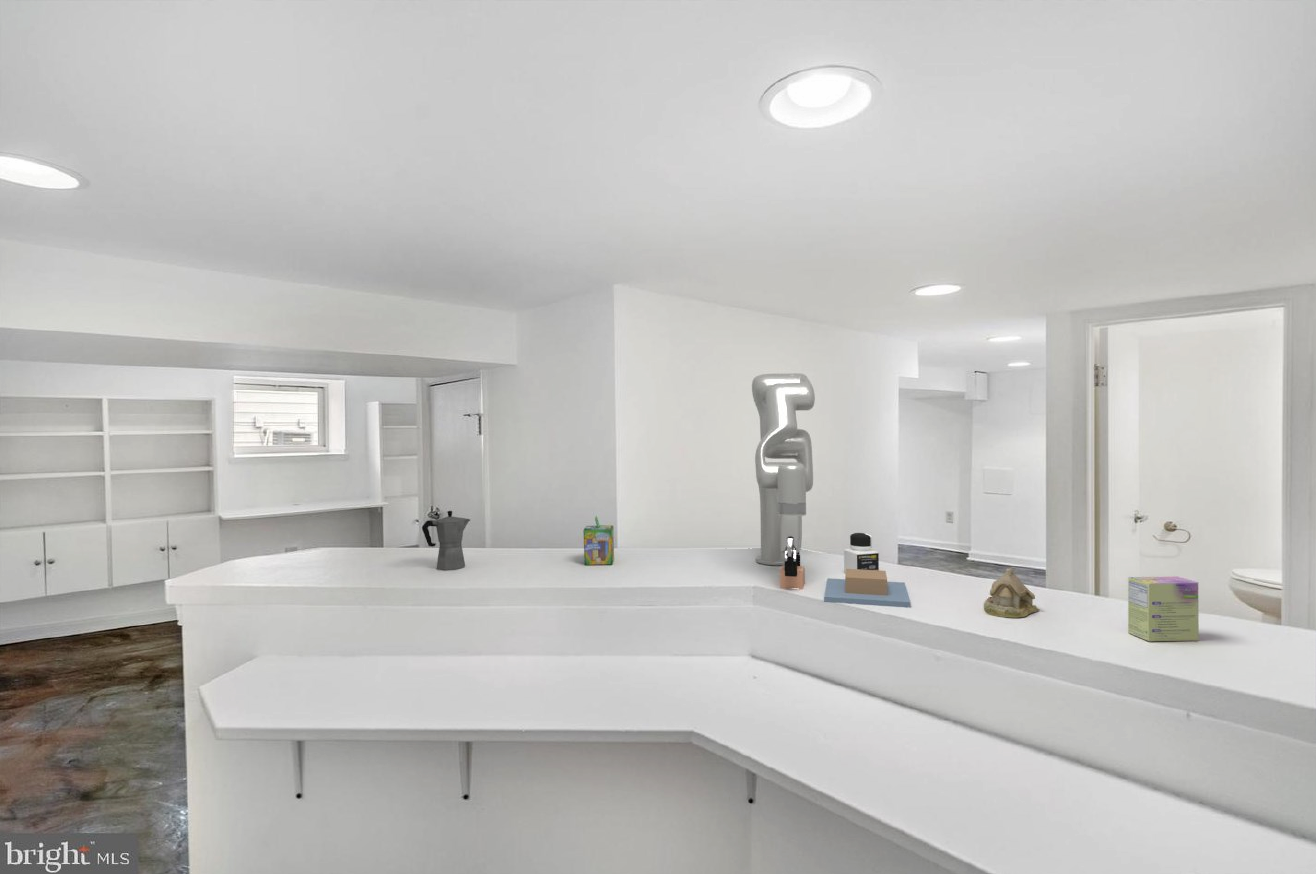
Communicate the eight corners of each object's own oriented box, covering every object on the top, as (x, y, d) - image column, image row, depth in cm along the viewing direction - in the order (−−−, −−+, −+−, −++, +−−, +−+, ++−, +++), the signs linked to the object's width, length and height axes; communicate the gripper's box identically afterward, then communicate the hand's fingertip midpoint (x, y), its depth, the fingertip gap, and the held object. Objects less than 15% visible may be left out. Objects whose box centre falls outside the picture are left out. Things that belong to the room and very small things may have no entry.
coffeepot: (464, 562, 214) (463, 507, 213) (476, 566, 207) (475, 510, 206) (417, 569, 204) (416, 512, 204) (428, 574, 197) (427, 515, 196)
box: (1175, 632, 135) (1175, 575, 134) (1199, 641, 129) (1199, 582, 129) (1126, 633, 134) (1126, 576, 134) (1148, 642, 129) (1148, 583, 128)
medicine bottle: (857, 578, 184) (857, 536, 184) (843, 573, 191) (843, 532, 191) (879, 576, 186) (879, 534, 186) (865, 571, 193) (864, 531, 193)
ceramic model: (988, 600, 161) (988, 560, 160) (1040, 607, 154) (1040, 565, 154) (977, 614, 149) (976, 571, 149) (1032, 622, 143) (1032, 577, 142)
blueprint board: (827, 582, 180) (827, 563, 180) (904, 587, 174) (904, 567, 174) (824, 601, 161) (823, 580, 161) (910, 607, 155) (910, 585, 155)
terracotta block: (782, 583, 181) (782, 565, 181) (804, 584, 179) (804, 566, 179) (780, 588, 175) (779, 570, 175) (802, 589, 173) (802, 571, 173)
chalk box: (612, 565, 206) (611, 518, 206) (583, 565, 206) (582, 519, 206) (615, 559, 215) (614, 514, 215) (587, 559, 215) (586, 515, 215)
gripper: (781, 506, 186) (782, 566, 186) (774, 512, 169) (774, 578, 169) (808, 506, 183) (809, 567, 183) (803, 513, 167) (804, 580, 167)
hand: (792, 572), depth 176 cm, fingers open, 9 cm apart
